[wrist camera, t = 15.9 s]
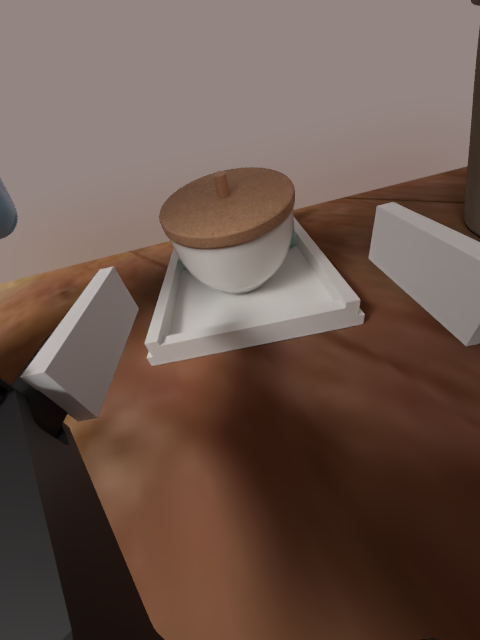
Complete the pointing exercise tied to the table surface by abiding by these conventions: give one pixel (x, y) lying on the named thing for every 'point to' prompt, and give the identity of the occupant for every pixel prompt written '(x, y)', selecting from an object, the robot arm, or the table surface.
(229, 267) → the lidded jar
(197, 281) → the pusher lane
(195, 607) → the table surface
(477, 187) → the plant pot
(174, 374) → the table surface
